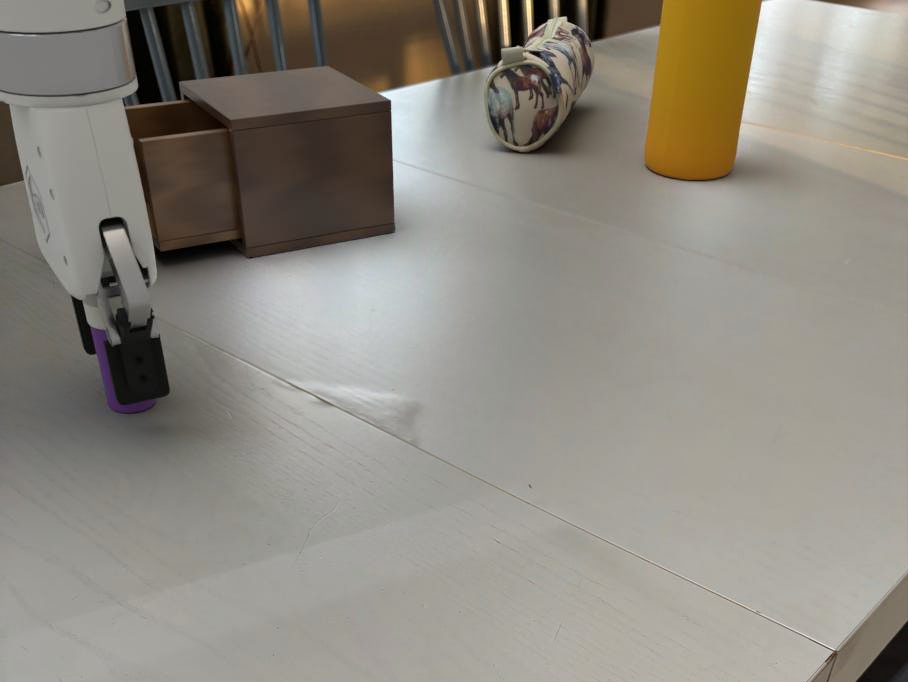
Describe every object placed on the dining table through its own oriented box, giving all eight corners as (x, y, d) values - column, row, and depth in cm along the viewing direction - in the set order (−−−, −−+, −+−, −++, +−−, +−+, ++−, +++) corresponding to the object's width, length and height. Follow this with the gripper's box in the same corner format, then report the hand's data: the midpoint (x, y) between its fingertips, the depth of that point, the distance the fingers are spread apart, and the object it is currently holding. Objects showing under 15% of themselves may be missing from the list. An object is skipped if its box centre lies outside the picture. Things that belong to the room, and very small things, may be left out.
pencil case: (558, 158, 109) (566, 52, 102) (479, 150, 110) (482, 45, 104) (592, 105, 125) (600, 11, 119) (522, 98, 126) (527, 5, 120)
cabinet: (247, 258, 86) (230, 119, 79) (197, 210, 95) (178, 81, 88) (395, 232, 92) (391, 100, 85) (336, 189, 100) (328, 65, 93)
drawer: (73, 274, 81) (44, 153, 75) (39, 227, 88) (11, 113, 82) (281, 238, 87) (270, 125, 82) (233, 197, 95) (220, 90, 89)
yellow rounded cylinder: (752, 171, 107) (818, -190, 88) (690, 187, 103) (746, -189, 84) (685, 148, 113) (735, -197, 94) (624, 163, 108) (662, -196, 89)
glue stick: (114, 418, 66) (90, 312, 61) (100, 396, 68) (76, 292, 64) (164, 407, 67) (144, 301, 63) (149, 386, 69) (128, 282, 65)
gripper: (-47, 32, 59) (34, 332, 71) (20, 108, 48) (103, 450, 59) (88, 21, 62) (144, 311, 73) (181, 90, 51) (230, 420, 62)
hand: (125, 371), depth 66 cm, fingers open, 6 cm apart
